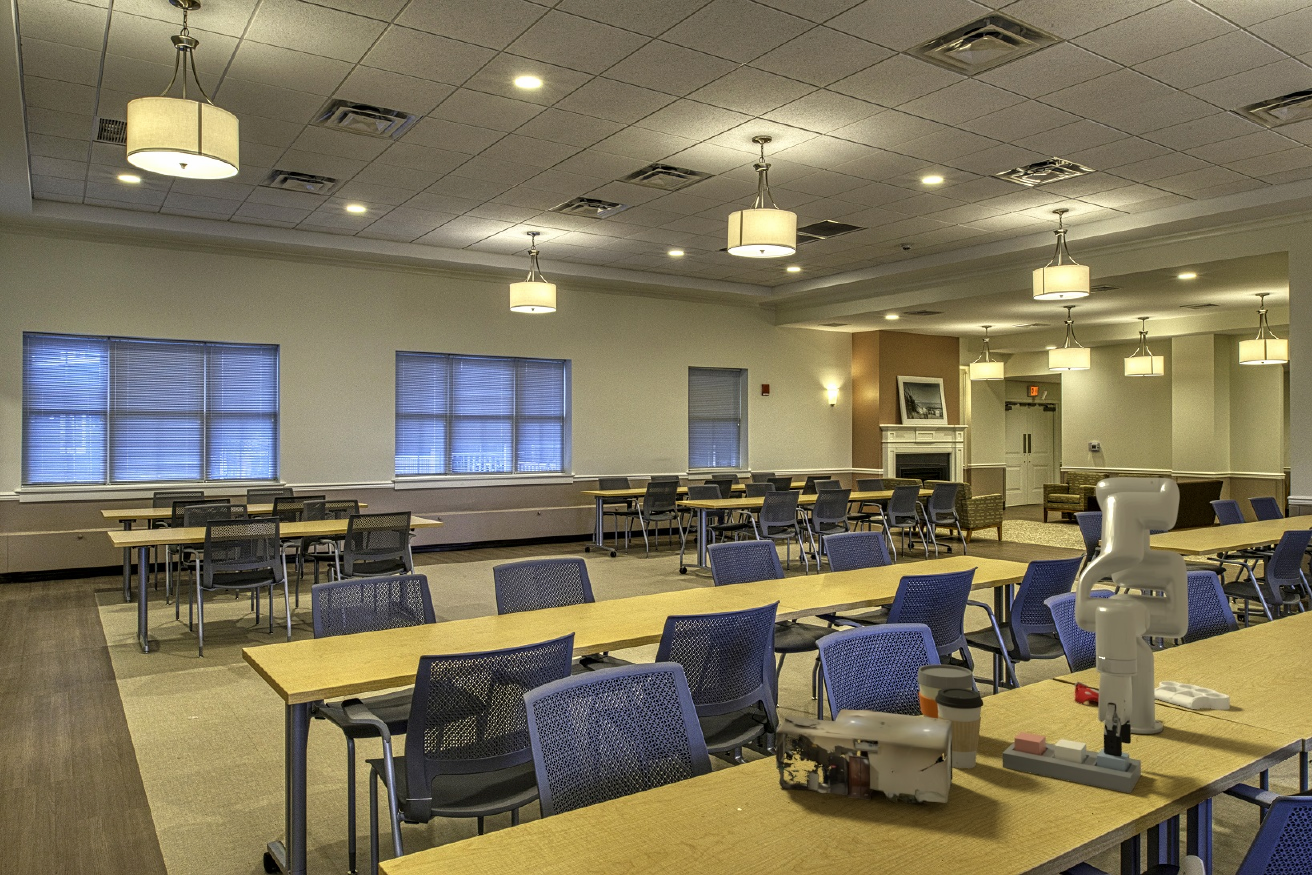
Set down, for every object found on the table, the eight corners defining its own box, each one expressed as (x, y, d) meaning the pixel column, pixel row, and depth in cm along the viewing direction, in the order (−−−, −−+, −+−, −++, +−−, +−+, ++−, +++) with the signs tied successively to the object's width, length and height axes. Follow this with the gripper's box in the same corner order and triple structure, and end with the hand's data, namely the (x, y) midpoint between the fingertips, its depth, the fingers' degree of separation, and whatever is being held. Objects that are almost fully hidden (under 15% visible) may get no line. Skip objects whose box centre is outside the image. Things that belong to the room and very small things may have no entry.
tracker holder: (1121, 699, 232) (1100, 696, 226) (1115, 715, 232) (1094, 712, 227) (1080, 678, 242) (1059, 675, 237) (1074, 693, 242) (1053, 690, 237)
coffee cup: (986, 759, 191) (985, 689, 191) (982, 774, 182) (981, 701, 182) (938, 752, 195) (937, 685, 195) (932, 767, 186) (931, 696, 186)
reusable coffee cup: (951, 723, 215) (950, 662, 215) (985, 739, 203) (984, 674, 203) (907, 729, 211) (906, 666, 211) (939, 746, 199) (938, 679, 200)
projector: (794, 760, 190) (793, 698, 190) (953, 781, 178) (952, 716, 178) (773, 794, 173) (772, 727, 173) (947, 820, 161) (946, 748, 161)
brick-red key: (1021, 750, 192) (1021, 731, 192) (1045, 754, 189) (1045, 736, 189) (1014, 756, 188) (1014, 737, 188) (1039, 761, 185) (1039, 742, 185)
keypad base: (1018, 751, 195) (1018, 737, 195) (1140, 774, 181) (1140, 760, 181) (1002, 767, 186) (1002, 752, 186) (1130, 793, 171) (1129, 777, 171)
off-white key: (1060, 757, 187) (1060, 738, 187) (1086, 762, 184) (1086, 743, 184) (1054, 764, 183) (1054, 745, 183) (1081, 769, 180) (1080, 750, 180)
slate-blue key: (1102, 768, 182) (1102, 748, 182) (1129, 773, 179) (1129, 753, 179) (1097, 775, 178) (1096, 755, 178) (1124, 780, 175) (1124, 760, 175)
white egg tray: (1139, 697, 238) (1176, 691, 244) (1203, 715, 221) (1242, 708, 227) (1139, 684, 238) (1176, 678, 244) (1203, 702, 221) (1241, 695, 227)
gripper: (1104, 655, 192) (1106, 734, 191) (1087, 670, 178) (1088, 756, 178) (1143, 659, 187) (1145, 741, 187) (1128, 676, 173) (1130, 763, 173)
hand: (1117, 748), depth 182 cm, fingers open, 9 cm apart
